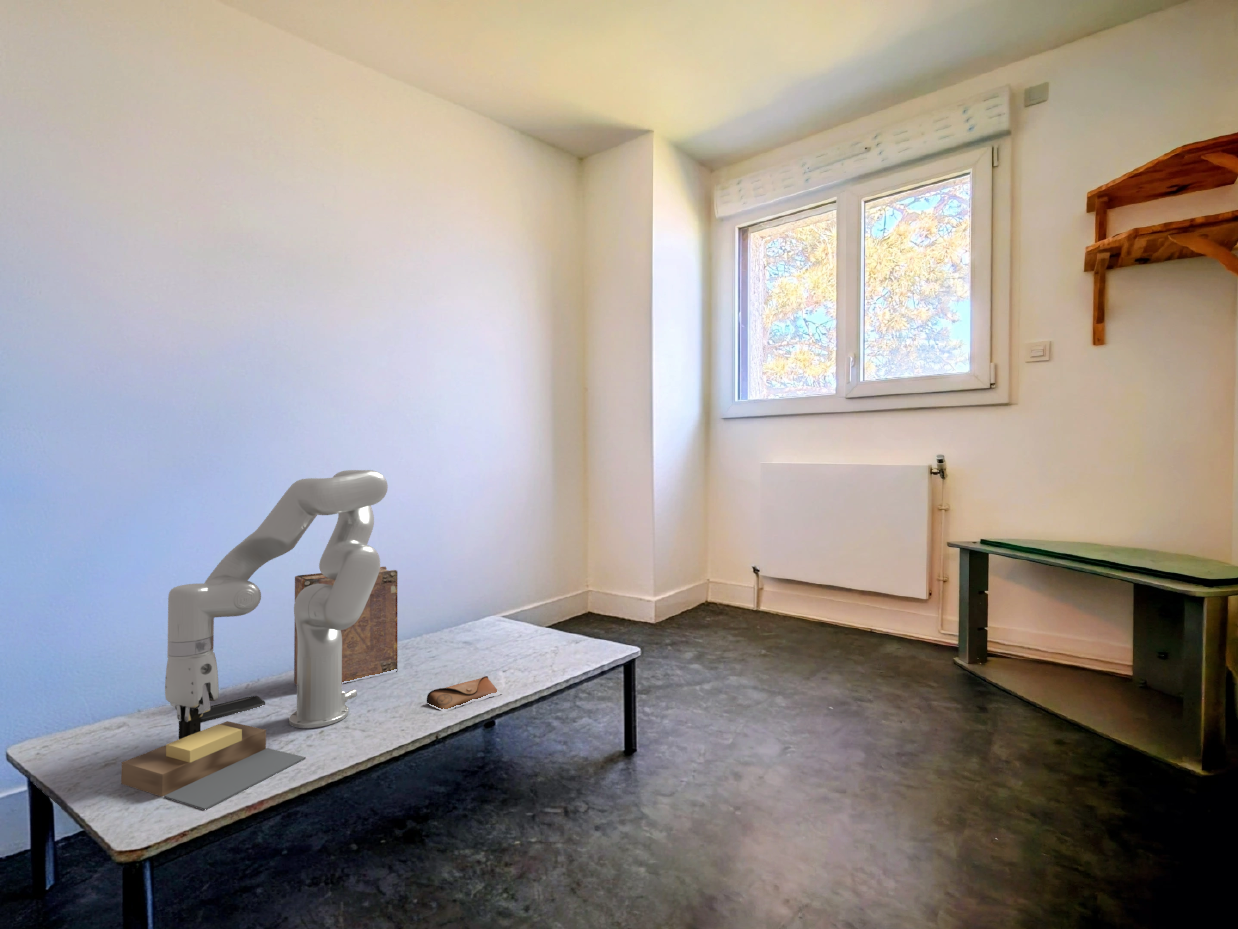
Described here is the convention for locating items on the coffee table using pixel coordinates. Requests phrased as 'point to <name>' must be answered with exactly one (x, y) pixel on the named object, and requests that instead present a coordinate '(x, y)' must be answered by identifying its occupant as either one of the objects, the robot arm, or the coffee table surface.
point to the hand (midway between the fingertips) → (189, 738)
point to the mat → (234, 778)
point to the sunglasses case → (460, 693)
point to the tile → (203, 743)
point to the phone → (232, 707)
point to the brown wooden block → (187, 764)
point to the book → (364, 628)
